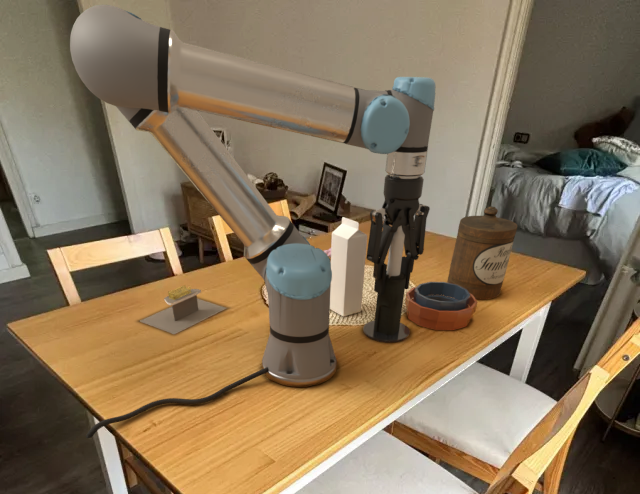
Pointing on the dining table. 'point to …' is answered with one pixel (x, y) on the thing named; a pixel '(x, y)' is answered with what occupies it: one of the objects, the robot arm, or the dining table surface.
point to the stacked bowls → (440, 305)
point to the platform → (182, 311)
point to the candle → (391, 289)
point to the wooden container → (482, 253)
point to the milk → (347, 267)
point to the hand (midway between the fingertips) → (391, 289)
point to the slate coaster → (377, 336)
